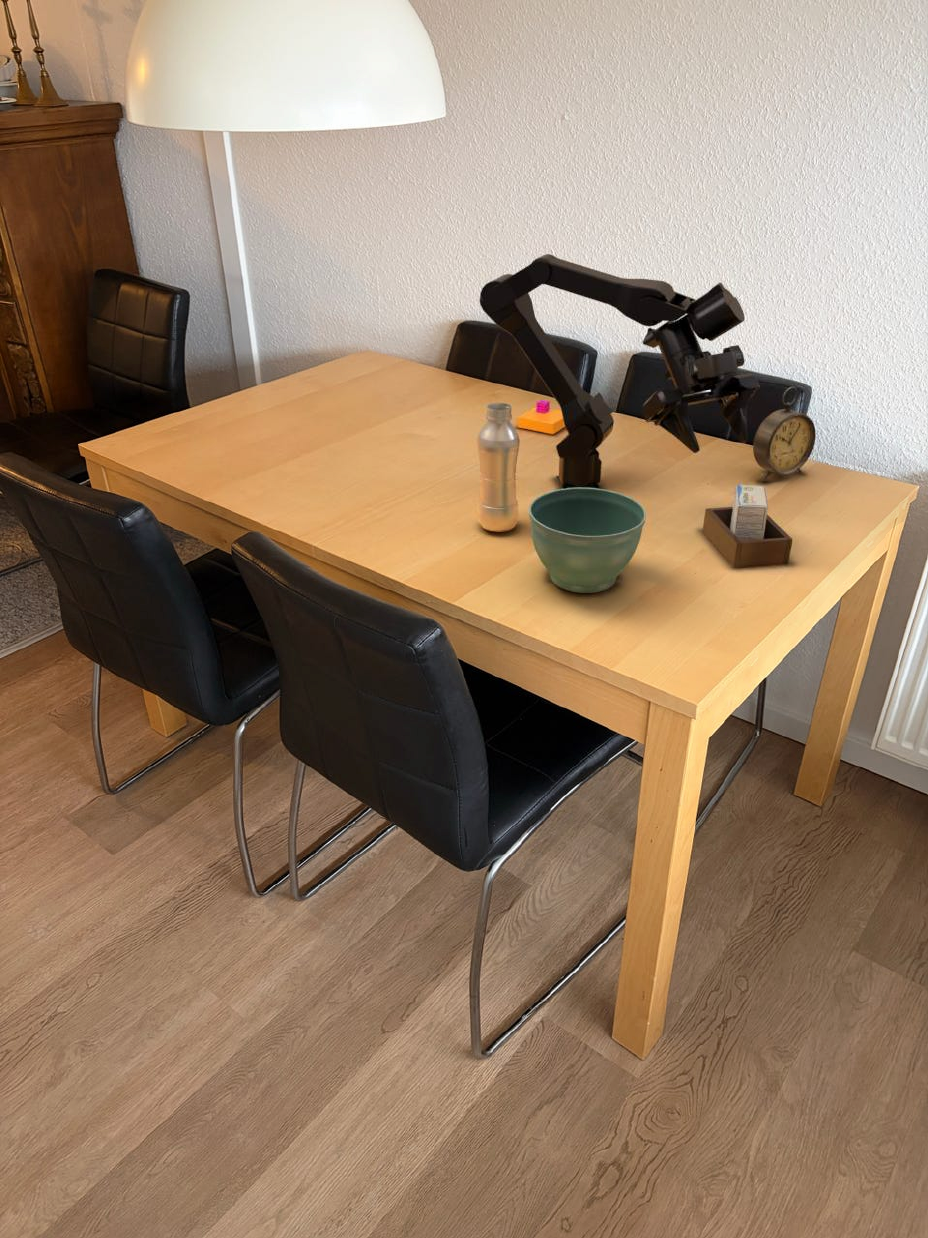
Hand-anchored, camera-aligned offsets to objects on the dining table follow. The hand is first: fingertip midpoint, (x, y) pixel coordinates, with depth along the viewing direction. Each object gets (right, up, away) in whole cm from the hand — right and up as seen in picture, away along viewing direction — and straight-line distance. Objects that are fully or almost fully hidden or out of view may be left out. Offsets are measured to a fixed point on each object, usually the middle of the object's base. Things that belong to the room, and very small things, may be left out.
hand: (721, 446), depth 149 cm
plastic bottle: (-34, -12, +7) cm, 37 cm away
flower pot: (-22, -21, -8) cm, 31 cm away
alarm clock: (+17, -1, +25) cm, 30 cm away
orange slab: (-23, +16, +49) cm, 56 cm away
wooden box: (+4, -15, +1) cm, 16 cm away
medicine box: (+4, -15, +1) cm, 16 cm away
